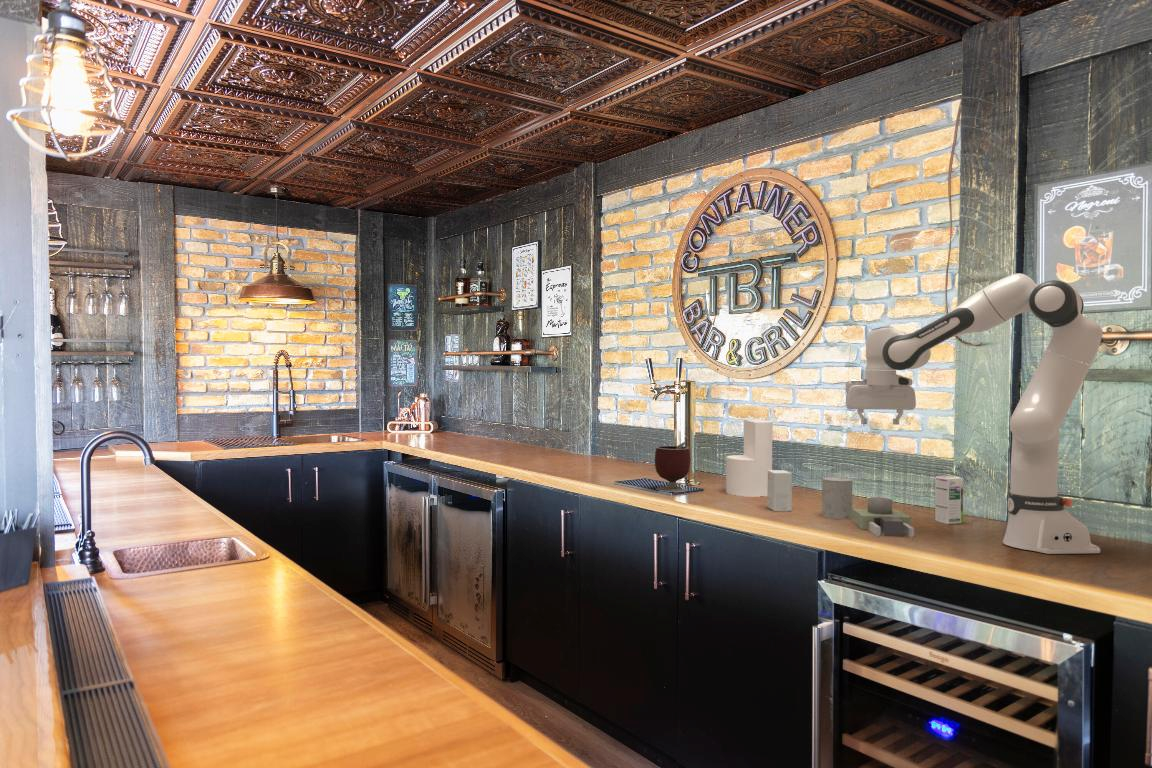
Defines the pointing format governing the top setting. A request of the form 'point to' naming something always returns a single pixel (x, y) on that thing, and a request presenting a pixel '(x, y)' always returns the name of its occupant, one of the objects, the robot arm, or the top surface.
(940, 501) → the syrup box
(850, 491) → the grey concrete cylinder
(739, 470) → the pale stepped column block
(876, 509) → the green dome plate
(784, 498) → the small box
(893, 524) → the dark grey box
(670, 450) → the mate gourd
